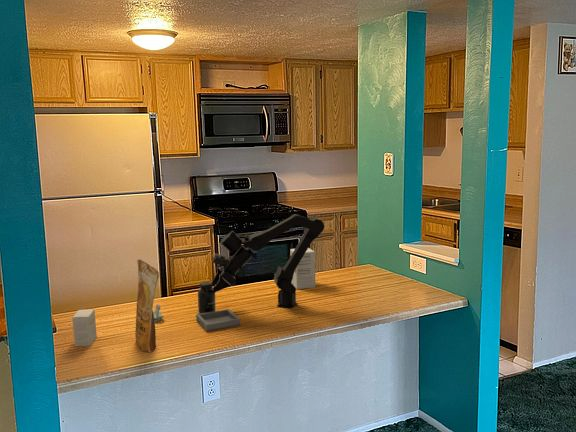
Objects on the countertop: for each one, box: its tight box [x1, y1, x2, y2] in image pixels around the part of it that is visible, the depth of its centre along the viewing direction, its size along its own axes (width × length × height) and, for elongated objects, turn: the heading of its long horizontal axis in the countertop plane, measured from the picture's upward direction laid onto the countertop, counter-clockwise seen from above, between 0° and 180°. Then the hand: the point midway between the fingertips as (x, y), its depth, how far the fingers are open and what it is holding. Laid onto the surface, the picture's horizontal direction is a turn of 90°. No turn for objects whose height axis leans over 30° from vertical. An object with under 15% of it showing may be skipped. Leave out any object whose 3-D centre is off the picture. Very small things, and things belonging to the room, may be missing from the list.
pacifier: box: [153, 303, 165, 323], centre depth 210 cm, size 7×6×6 cm
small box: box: [72, 308, 98, 347], centre depth 189 cm, size 8×6×10 cm
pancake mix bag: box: [134, 259, 160, 353], centre depth 185 cm, size 7×19×28 cm, turn 26°
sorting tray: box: [195, 308, 241, 332], centre depth 205 cm, size 13×13×2 cm
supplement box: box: [289, 247, 316, 290], centre depth 250 cm, size 10×9×17 cm
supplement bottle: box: [197, 281, 217, 314], centre depth 217 cm, size 7×7×12 cm
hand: (211, 288), depth 217 cm, fingers open, 9 cm apart
